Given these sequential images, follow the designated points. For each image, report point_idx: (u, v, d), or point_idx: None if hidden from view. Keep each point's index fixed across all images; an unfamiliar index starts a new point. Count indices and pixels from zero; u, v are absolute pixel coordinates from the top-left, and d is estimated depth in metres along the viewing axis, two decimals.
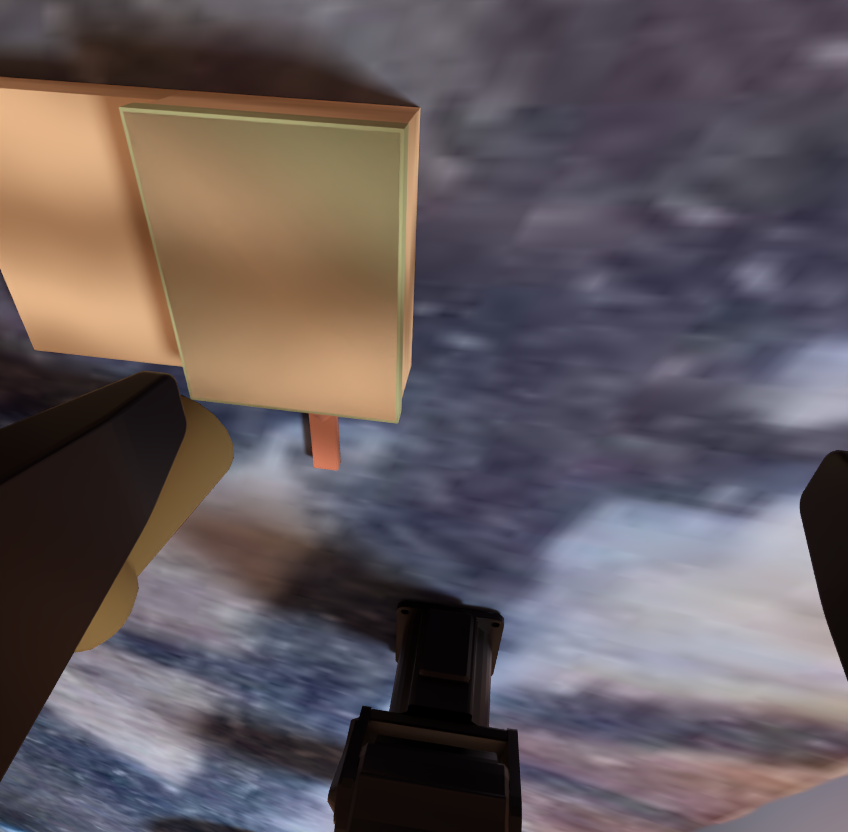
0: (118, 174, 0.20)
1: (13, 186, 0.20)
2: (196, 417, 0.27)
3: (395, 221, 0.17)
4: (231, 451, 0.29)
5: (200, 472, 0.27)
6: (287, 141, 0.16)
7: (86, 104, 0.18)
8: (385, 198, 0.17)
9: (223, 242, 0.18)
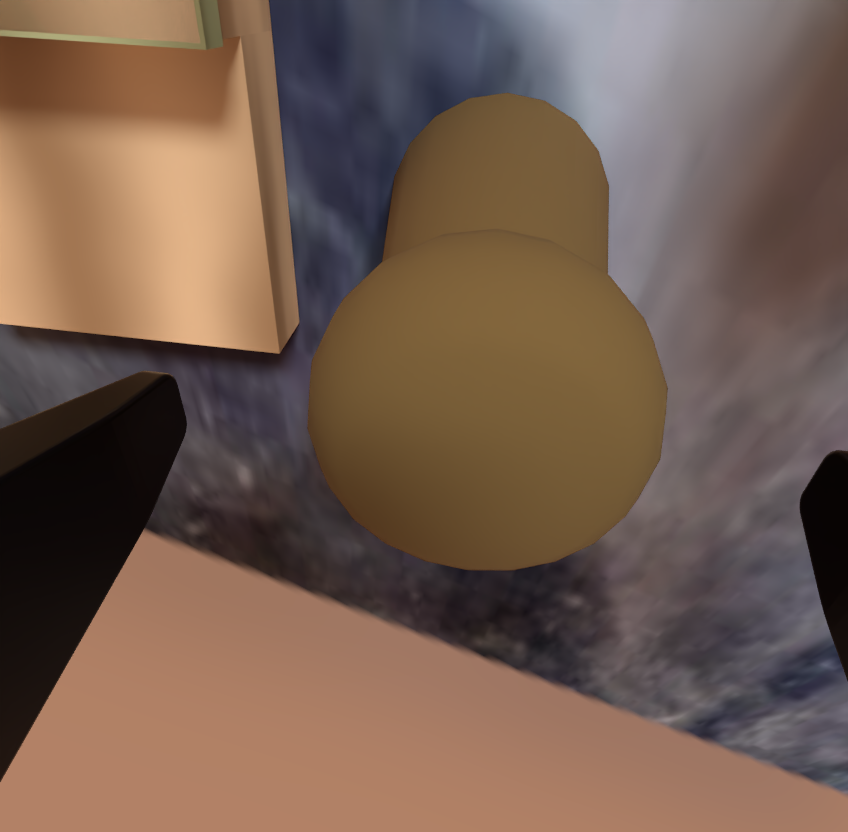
0: None
1: (41, 271, 0.17)
2: (416, 143, 0.15)
3: None
4: (520, 97, 0.14)
5: (482, 132, 0.12)
6: None
7: None
8: None
9: None
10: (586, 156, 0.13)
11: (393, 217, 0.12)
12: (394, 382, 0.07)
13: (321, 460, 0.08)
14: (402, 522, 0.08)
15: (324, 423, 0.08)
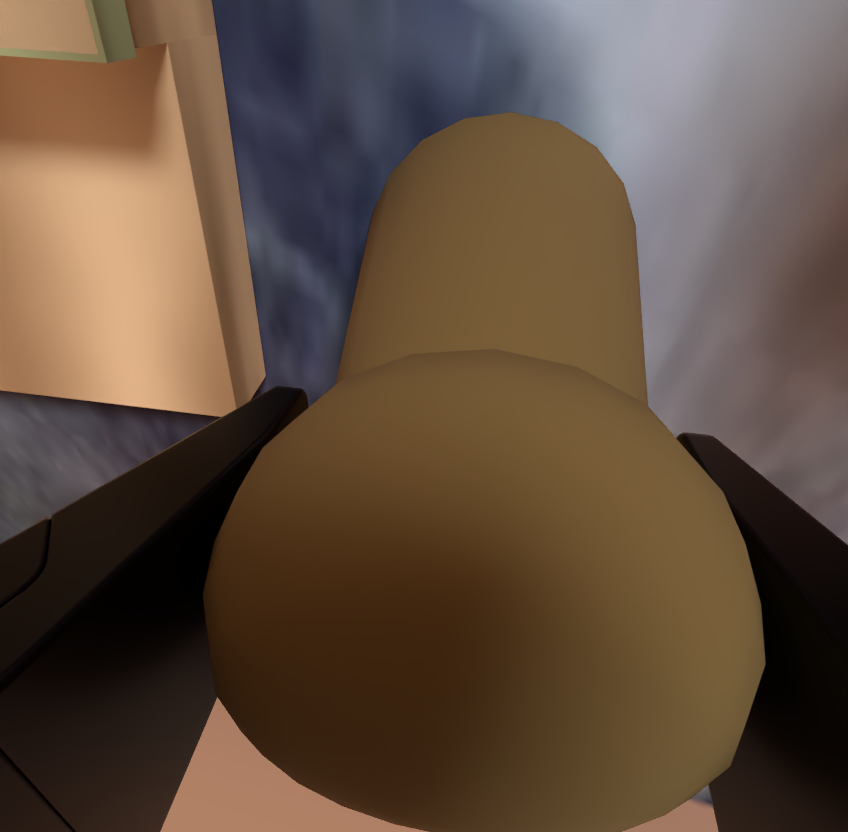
0: None
1: None
2: (398, 174, 0.12)
3: None
4: (527, 118, 0.11)
5: (479, 167, 0.10)
6: None
7: None
8: None
9: None
10: (611, 195, 0.11)
11: (363, 277, 0.10)
12: (316, 648, 0.04)
13: (223, 704, 0.05)
14: (347, 799, 0.05)
15: (219, 667, 0.05)
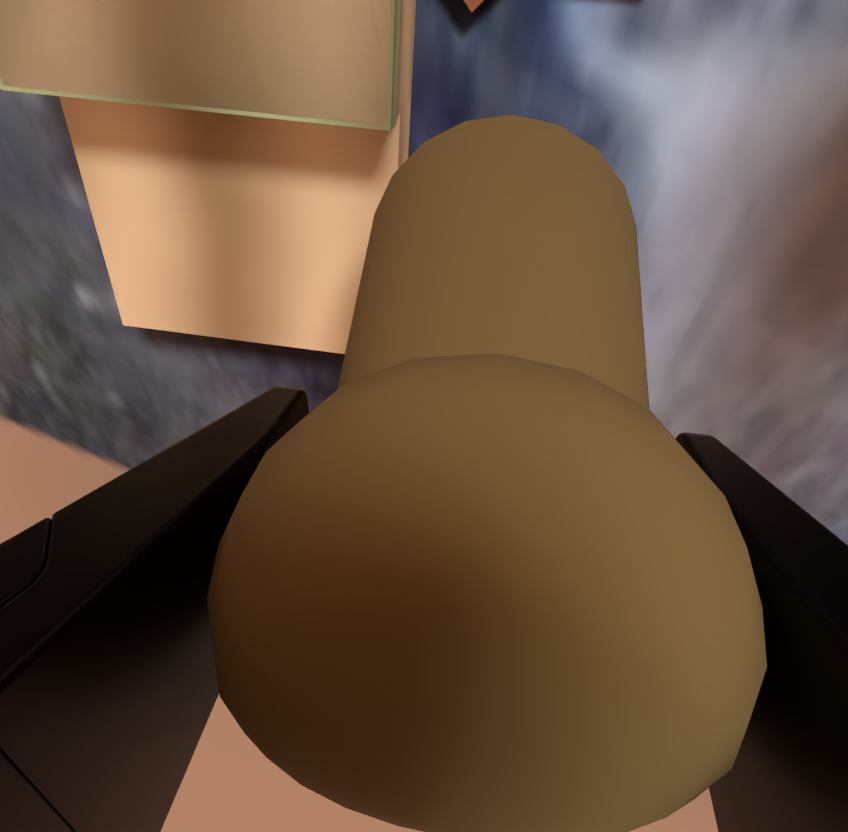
0: (148, 158, 0.17)
1: (195, 287, 0.20)
2: (399, 176, 0.12)
3: None
4: (528, 121, 0.11)
5: (480, 170, 0.10)
6: None
7: (87, 167, 0.18)
8: None
9: None
10: (612, 197, 0.11)
11: (365, 279, 0.10)
12: (321, 652, 0.04)
13: (227, 706, 0.05)
14: (351, 801, 0.05)
15: (224, 670, 0.05)
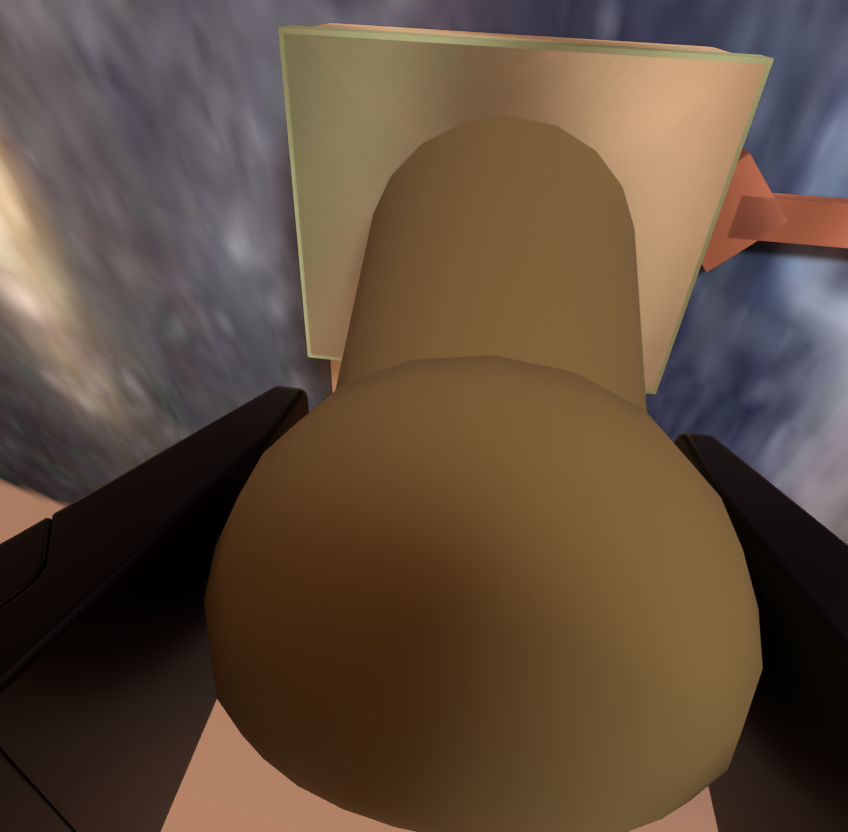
0: None
1: None
2: (398, 177, 0.12)
3: (395, 46, 0.12)
4: (526, 122, 0.11)
5: (478, 171, 0.10)
6: (314, 190, 0.14)
7: None
8: (366, 61, 0.12)
9: None
10: (610, 198, 0.11)
11: (363, 280, 0.10)
12: (317, 653, 0.04)
13: (224, 707, 0.05)
14: (347, 803, 0.05)
15: (220, 671, 0.05)
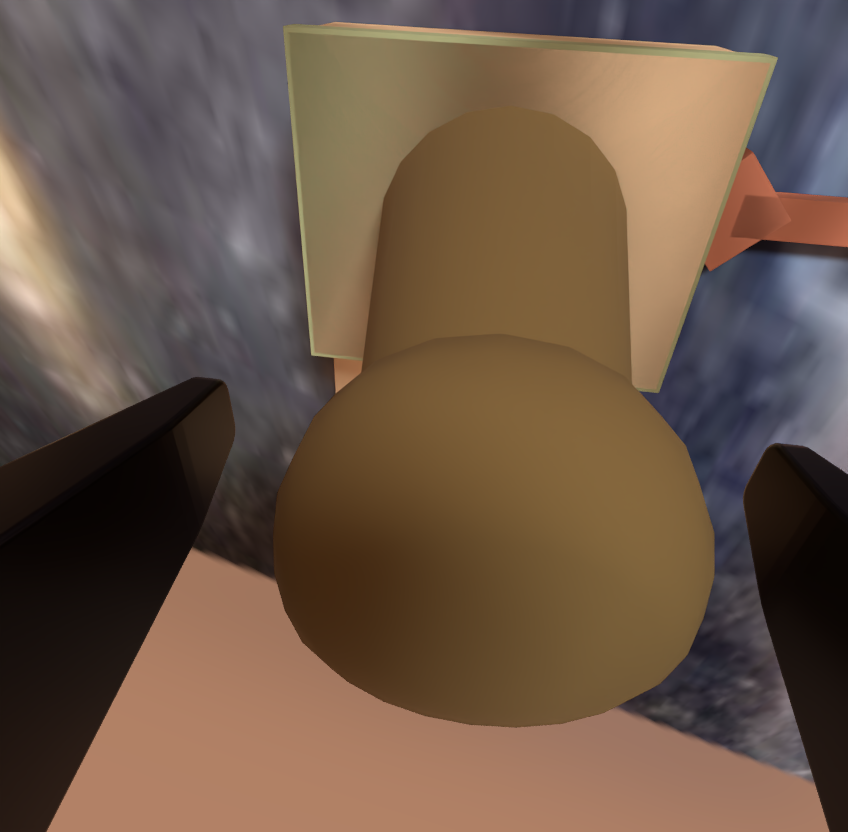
0: None
1: None
2: (407, 165, 0.13)
3: (400, 45, 0.12)
4: (526, 112, 0.12)
5: (484, 162, 0.11)
6: (318, 189, 0.14)
7: (343, 384, 0.20)
8: (370, 59, 0.12)
9: None
10: (603, 183, 0.12)
11: (380, 264, 0.11)
12: (373, 564, 0.05)
13: (290, 619, 0.07)
14: (390, 691, 0.07)
15: (290, 587, 0.06)
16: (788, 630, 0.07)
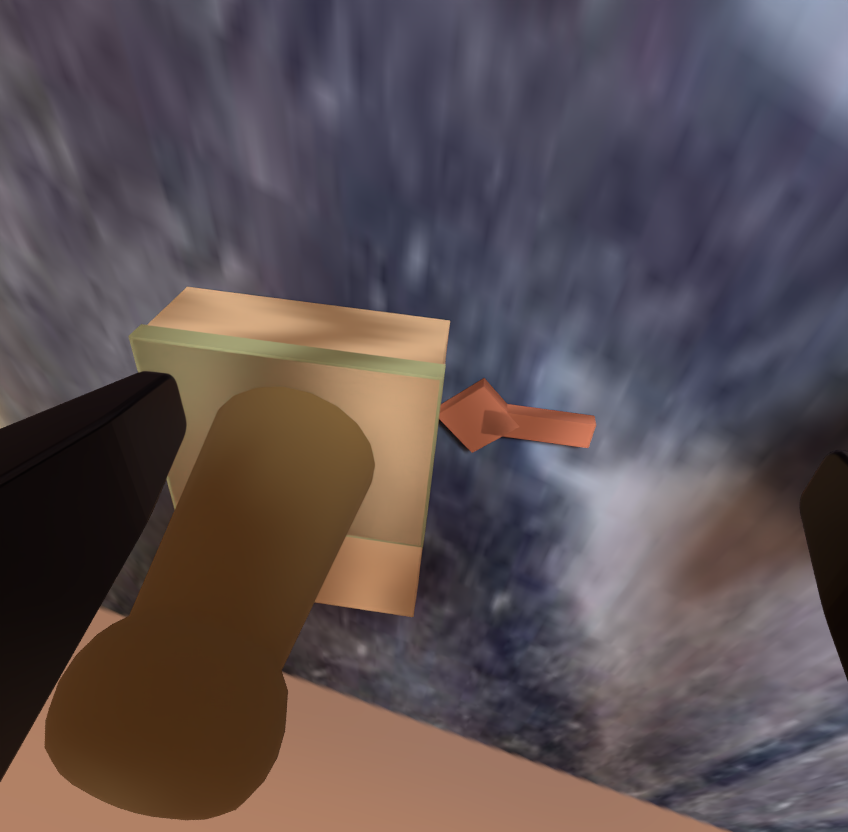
0: None
1: None
2: (216, 419, 0.19)
3: (206, 351, 0.18)
4: (291, 392, 0.19)
5: (241, 447, 0.17)
6: None
7: None
8: (188, 357, 0.19)
9: None
10: (331, 448, 0.18)
11: None
12: (72, 752, 0.12)
13: None
14: (107, 802, 0.13)
15: None
16: None
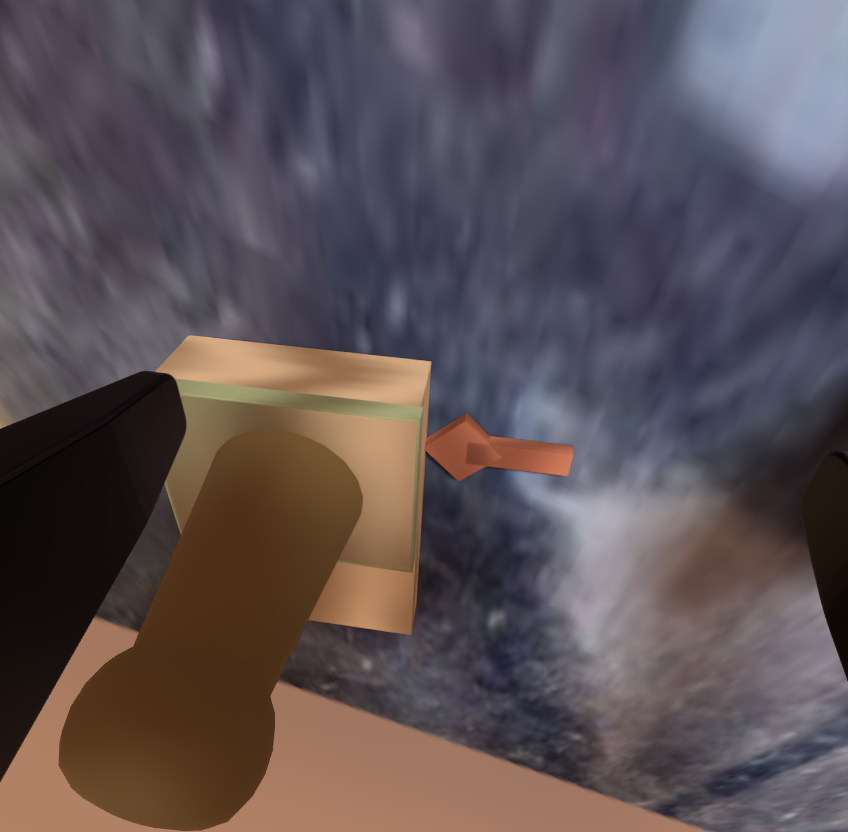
0: None
1: None
2: (215, 460, 0.21)
3: (204, 400, 0.20)
4: (282, 434, 0.20)
5: (235, 488, 0.19)
6: None
7: None
8: (188, 405, 0.20)
9: None
10: (318, 486, 0.20)
11: None
12: (81, 769, 0.13)
13: None
14: (113, 814, 0.14)
15: None
16: None
